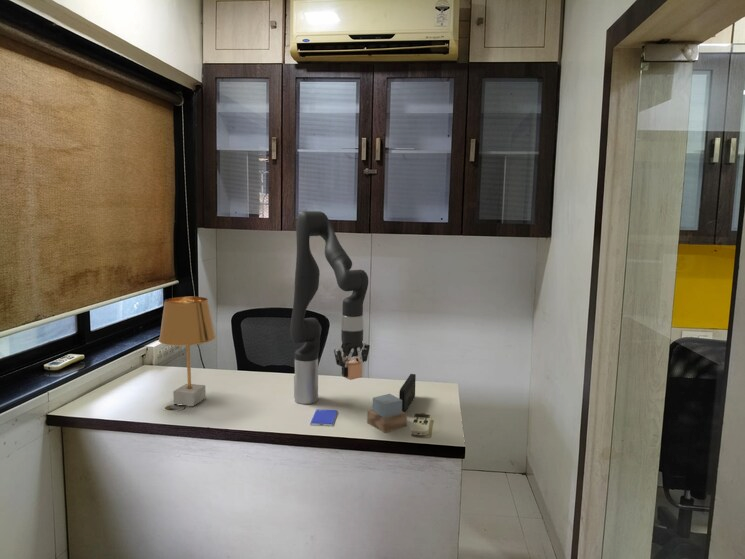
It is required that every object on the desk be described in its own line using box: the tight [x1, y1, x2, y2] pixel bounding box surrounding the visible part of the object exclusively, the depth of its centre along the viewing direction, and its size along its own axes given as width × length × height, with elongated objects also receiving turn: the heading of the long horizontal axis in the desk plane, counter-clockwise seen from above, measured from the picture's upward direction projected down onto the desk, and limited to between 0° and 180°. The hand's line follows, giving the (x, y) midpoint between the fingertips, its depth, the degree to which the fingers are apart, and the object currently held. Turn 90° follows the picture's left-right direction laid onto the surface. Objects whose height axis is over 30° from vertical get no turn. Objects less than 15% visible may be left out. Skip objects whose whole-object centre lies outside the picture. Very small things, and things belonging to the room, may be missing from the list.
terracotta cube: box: [341, 359, 363, 381], centre depth 179 cm, size 5×5×5 cm
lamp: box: [158, 296, 217, 407], centre depth 200 cm, size 21×21×41 cm
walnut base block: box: [366, 408, 408, 434], centre depth 184 cm, size 10×10×5 cm
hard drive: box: [309, 408, 339, 427], centre depth 188 cm, size 2×8×12 cm
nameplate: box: [398, 373, 416, 413], centre depth 201 cm, size 21×2×10 cm, turn 164°
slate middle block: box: [371, 393, 402, 418], centre depth 183 cm, size 8×8×5 cm
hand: (351, 375), depth 179 cm, fingers closed on terracotta cube, 5 cm apart
